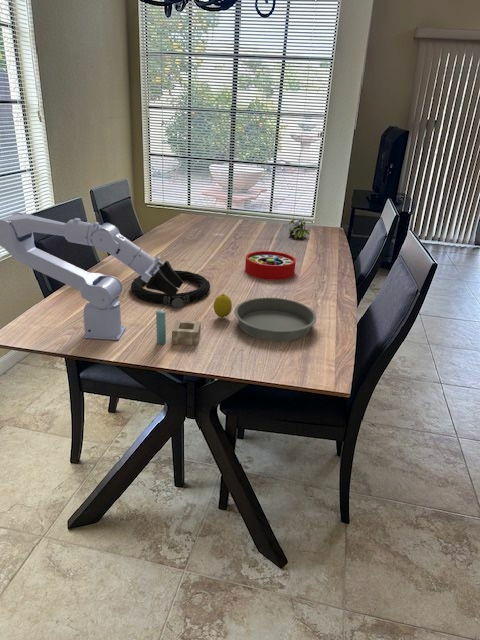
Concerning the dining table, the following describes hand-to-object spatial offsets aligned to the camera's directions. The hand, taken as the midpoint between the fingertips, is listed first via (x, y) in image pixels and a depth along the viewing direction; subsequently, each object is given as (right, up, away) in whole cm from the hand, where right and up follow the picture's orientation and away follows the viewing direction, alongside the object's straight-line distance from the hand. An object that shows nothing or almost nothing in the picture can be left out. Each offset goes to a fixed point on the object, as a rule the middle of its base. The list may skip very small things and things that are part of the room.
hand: (178, 289), depth 121 cm
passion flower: (+46, +35, +120) cm, 133 cm away
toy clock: (+28, +11, +65) cm, 72 cm away
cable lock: (-8, +1, +40) cm, 41 cm away
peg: (-5, -14, +5) cm, 16 cm away
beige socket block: (+1, -13, +7) cm, 15 cm away
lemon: (+11, -8, +22) cm, 25 cm away
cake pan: (+26, -10, +19) cm, 34 cm away
